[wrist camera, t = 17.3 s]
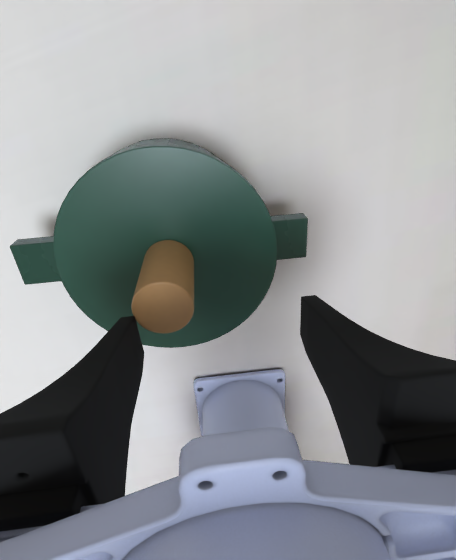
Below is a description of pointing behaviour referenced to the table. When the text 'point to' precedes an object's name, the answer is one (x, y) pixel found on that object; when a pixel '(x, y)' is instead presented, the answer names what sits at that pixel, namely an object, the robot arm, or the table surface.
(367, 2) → the table surface
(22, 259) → the pot
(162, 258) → the lid
